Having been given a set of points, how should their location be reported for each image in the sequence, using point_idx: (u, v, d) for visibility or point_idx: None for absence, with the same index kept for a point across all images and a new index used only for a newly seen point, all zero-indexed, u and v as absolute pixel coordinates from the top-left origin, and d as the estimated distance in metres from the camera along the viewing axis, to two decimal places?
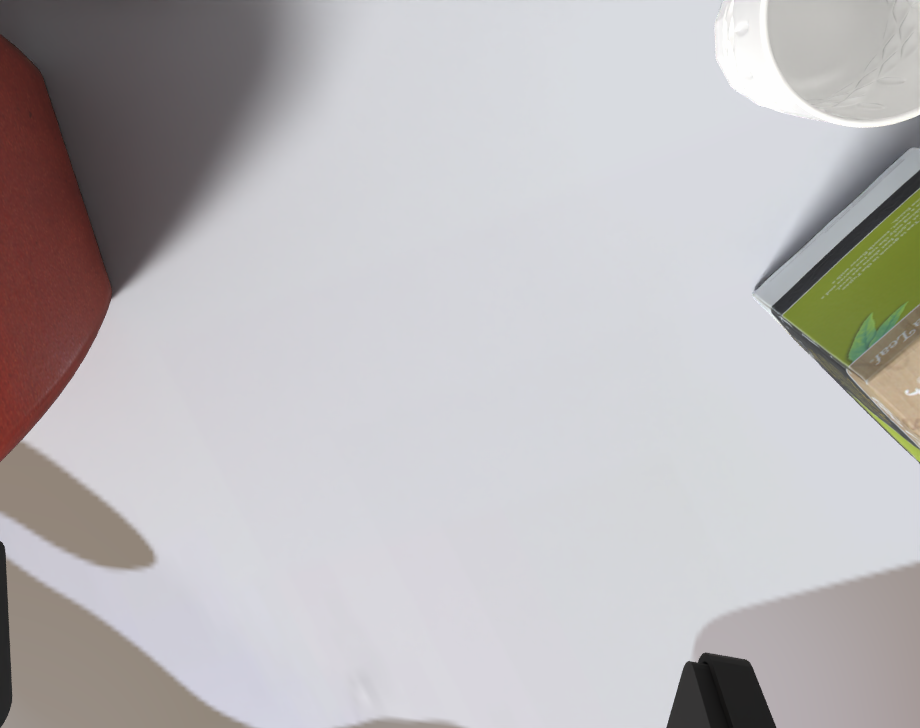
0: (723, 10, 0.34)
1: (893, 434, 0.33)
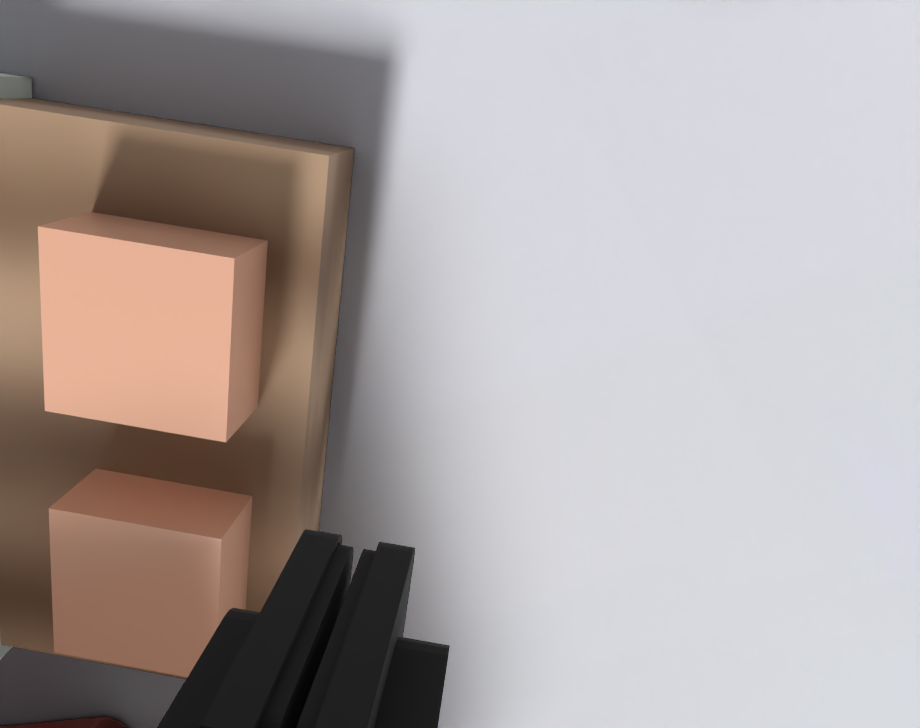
0: None
1: None
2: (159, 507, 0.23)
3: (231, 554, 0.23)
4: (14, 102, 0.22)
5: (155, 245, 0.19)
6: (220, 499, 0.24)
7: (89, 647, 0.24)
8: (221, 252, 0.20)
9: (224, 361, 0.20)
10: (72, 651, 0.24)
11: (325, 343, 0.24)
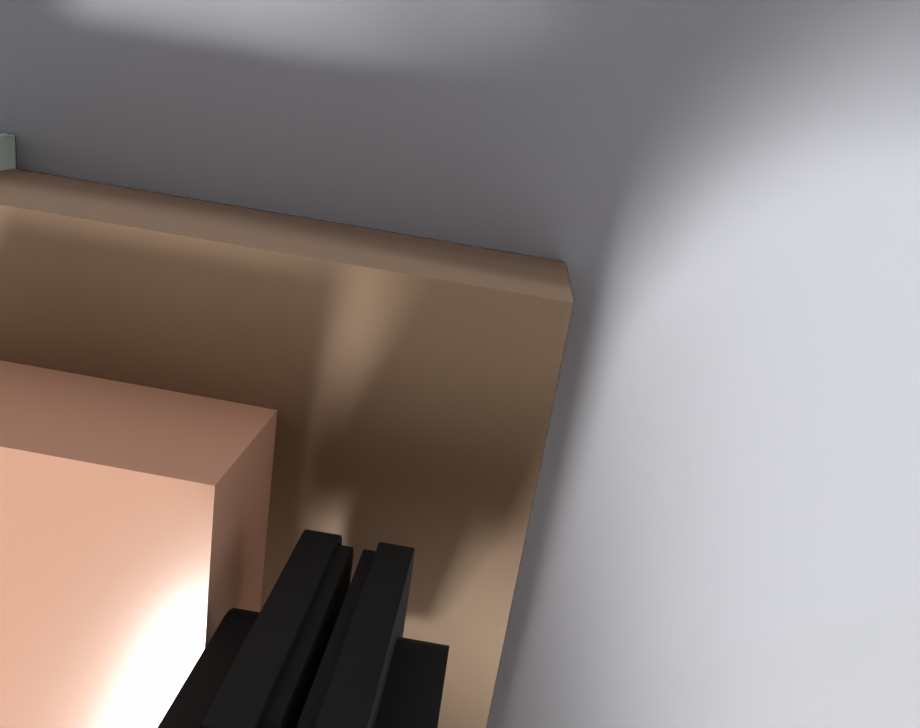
0: None
1: None
2: None
3: None
4: None
5: (56, 455, 0.10)
6: None
7: None
8: (189, 465, 0.10)
9: (193, 665, 0.10)
10: None
11: None
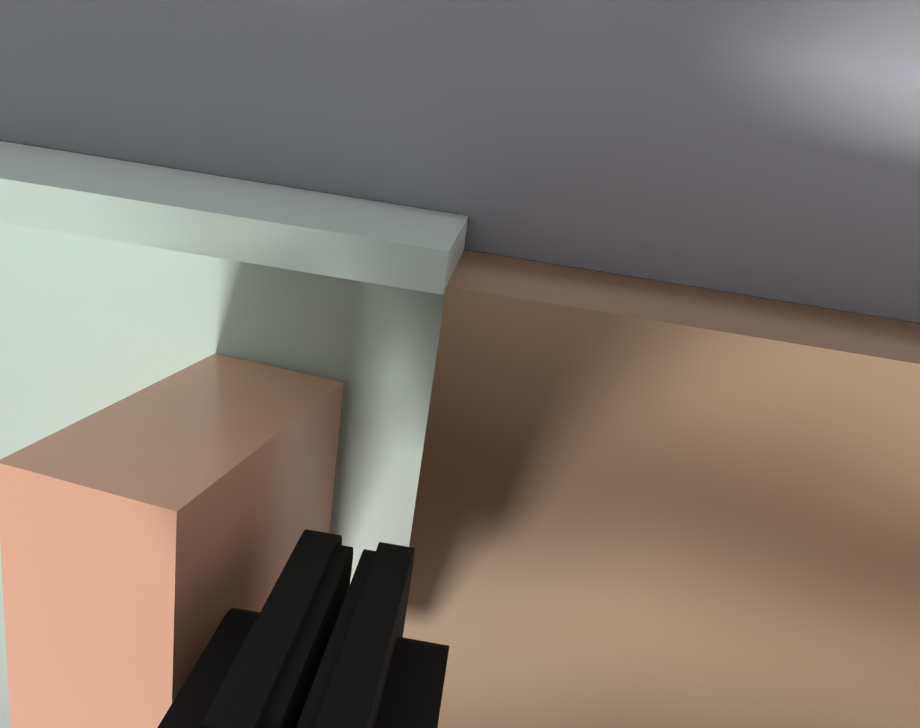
0: None
1: None
2: None
3: None
4: (500, 280, 0.12)
5: (108, 408, 0.12)
6: None
7: None
8: (51, 454, 0.10)
9: (14, 639, 0.11)
10: None
11: None
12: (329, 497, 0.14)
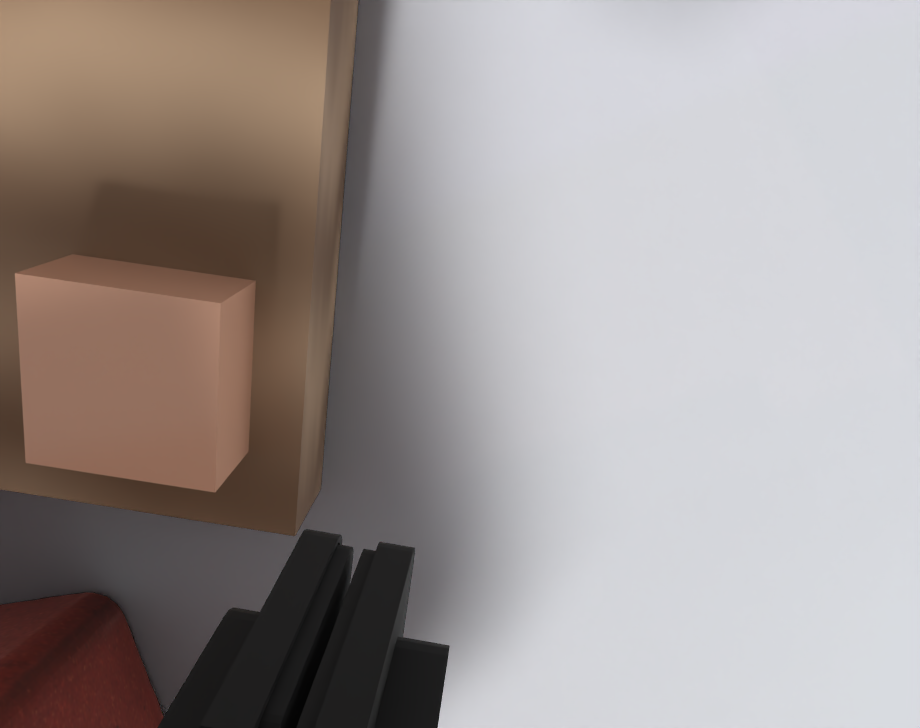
0: None
1: None
2: (147, 280, 0.20)
3: (232, 336, 0.20)
4: None
5: None
6: (218, 280, 0.20)
7: (66, 454, 0.20)
8: None
9: None
10: (46, 460, 0.20)
11: (338, 99, 0.21)
12: None
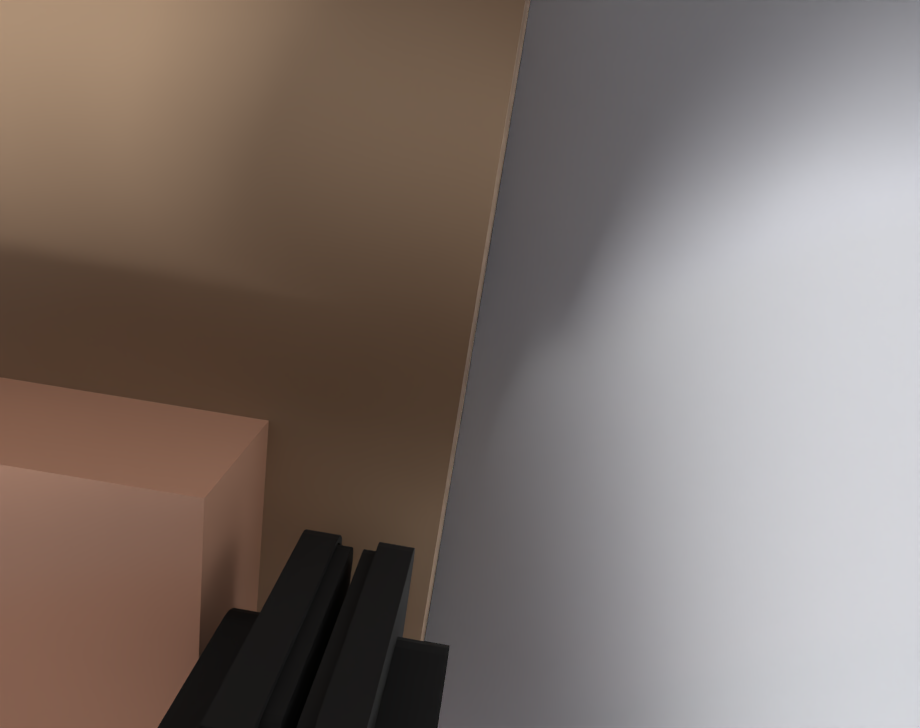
0: None
1: None
2: (70, 435, 0.11)
3: (226, 536, 0.11)
4: None
5: None
6: (203, 424, 0.12)
7: None
8: None
9: None
10: None
11: (507, 120, 0.12)
12: None
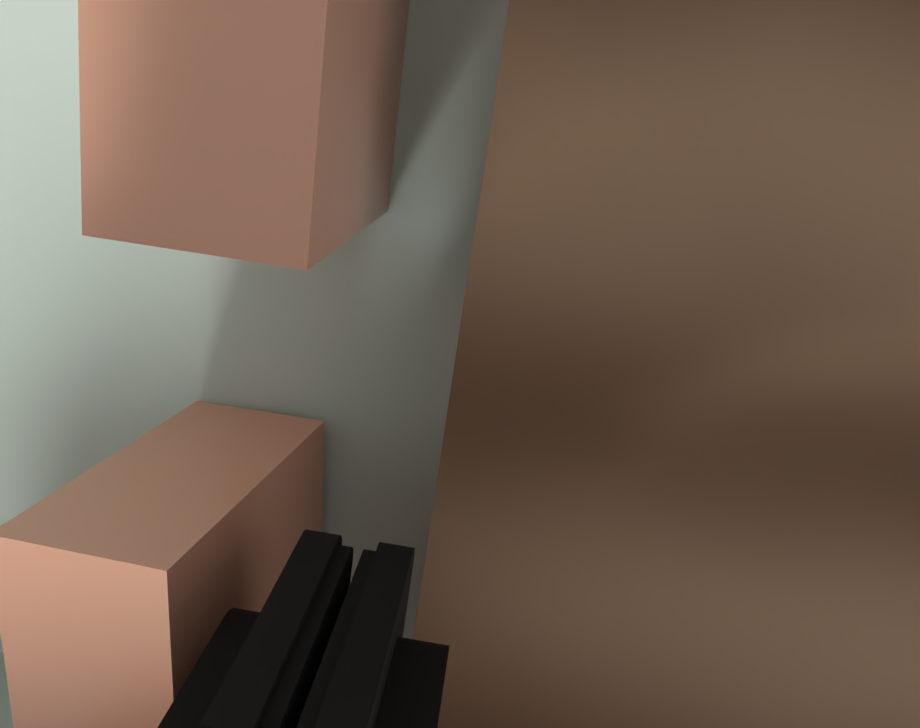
0: None
1: None
2: (163, 471, 0.12)
3: (56, 619, 0.10)
4: None
5: None
6: (166, 530, 0.10)
7: None
8: None
9: (85, 10, 0.08)
10: None
11: None
12: (404, 30, 0.12)
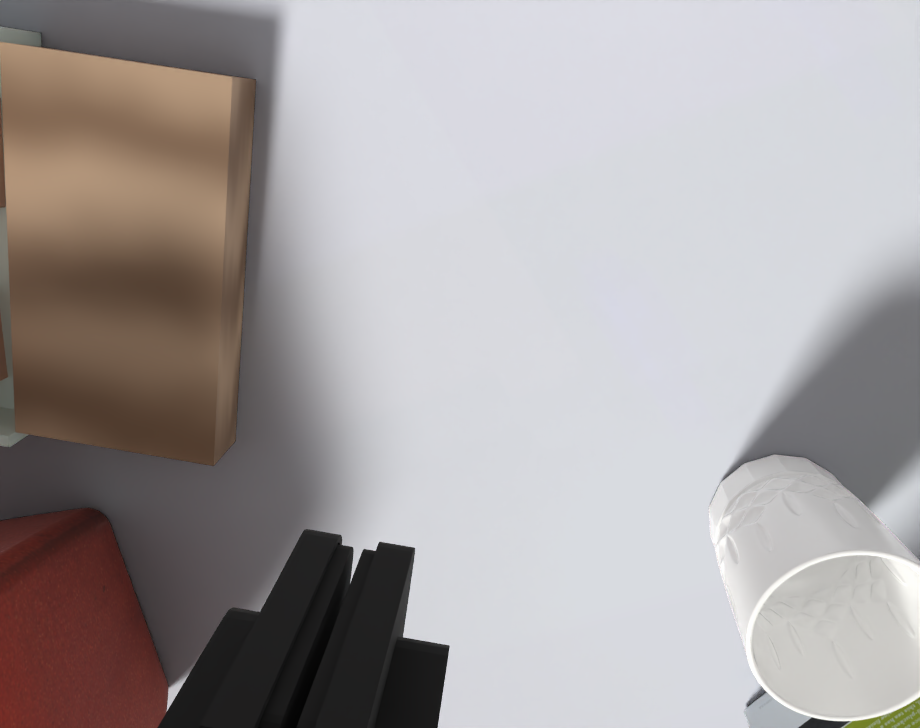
0: (716, 513, 0.39)
1: None
2: None
3: None
4: None
5: None
6: None
7: None
8: None
9: None
10: None
11: (237, 210, 0.36)
12: (0, 146, 0.37)
